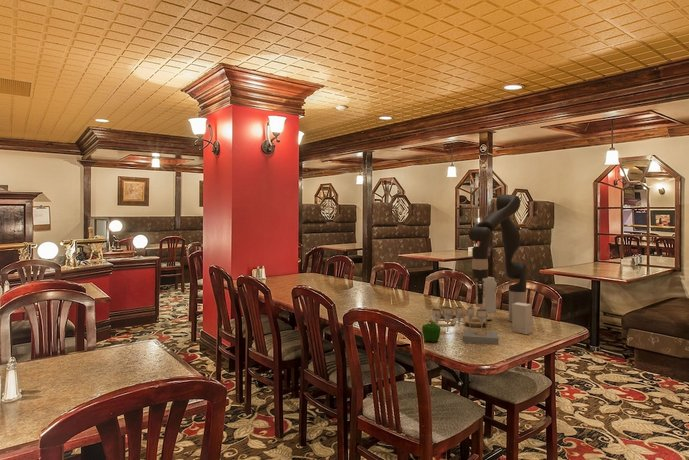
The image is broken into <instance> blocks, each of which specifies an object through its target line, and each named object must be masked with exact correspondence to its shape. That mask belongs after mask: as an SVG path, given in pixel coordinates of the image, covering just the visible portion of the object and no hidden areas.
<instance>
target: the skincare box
mask: <svg viewBox="0 0 689 460" xmlns="http://www.w3.org/2000/svg"><path fill="white" fill-rule="evenodd" d="M532 311H533V310H532V303H527V302H526V303H519V302H517V303H513V304H512V322H511V323H512V332H514V333H519V334H522V335H528V334H533V332H534V331H533V329H534V327H533V312H532Z"/></svg>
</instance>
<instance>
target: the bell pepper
mask: <svg viewBox="0 0 689 460" xmlns="http://www.w3.org/2000/svg"><path fill="white" fill-rule="evenodd" d="M433 323H434V324H433ZM435 323H436V322H435V321H432V322H430V323H426V324H423V325H422V326H421V327H422V329H421V331H422V336H423V339H424V341H425V340H426V341H425V342H427V341H432V343H437V342H438V341H439V339H440V334H441V333H440V332H441V326H438V325H436V324H435ZM436 341H437V342H436Z"/></svg>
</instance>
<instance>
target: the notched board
mask: <svg viewBox="0 0 689 460" xmlns="http://www.w3.org/2000/svg"><path fill="white" fill-rule="evenodd" d="M462 331H463V332H462V333H463V335H462V343H465V342H466V343H468V344H470V343H471V344H484V345H485V344H487V345H499V336H498V331H493V330H492V331H491V330H490V331H489V330H486V332H485V333H486V334H485V335H481V334H475V329H474V330H473V329H471V330H470V329H463V330H462Z"/></svg>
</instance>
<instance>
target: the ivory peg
mask: <svg viewBox="0 0 689 460" xmlns="http://www.w3.org/2000/svg"><path fill="white" fill-rule="evenodd" d="M479 293H482V291H479ZM477 294H478V291H477V286H476V285H475V307H476V308H480V307H485V286H484V291H483V304H478V295H477Z"/></svg>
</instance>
